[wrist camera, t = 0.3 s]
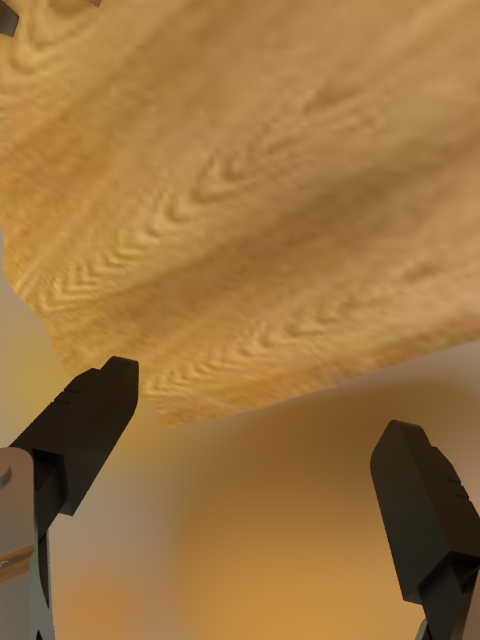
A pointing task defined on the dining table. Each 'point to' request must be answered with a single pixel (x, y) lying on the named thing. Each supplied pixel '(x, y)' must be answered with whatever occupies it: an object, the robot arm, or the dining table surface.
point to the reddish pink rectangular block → (95, 2)
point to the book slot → (7, 20)
